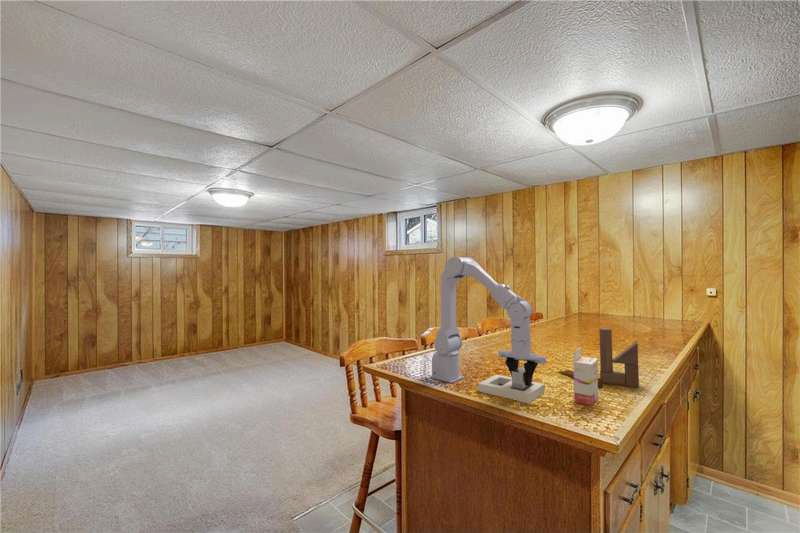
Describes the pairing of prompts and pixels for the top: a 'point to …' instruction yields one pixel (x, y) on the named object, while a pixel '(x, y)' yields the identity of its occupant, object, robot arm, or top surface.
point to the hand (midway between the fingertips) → (522, 383)
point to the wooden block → (626, 357)
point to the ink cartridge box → (585, 379)
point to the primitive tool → (571, 374)
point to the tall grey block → (519, 379)
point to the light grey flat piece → (510, 389)
